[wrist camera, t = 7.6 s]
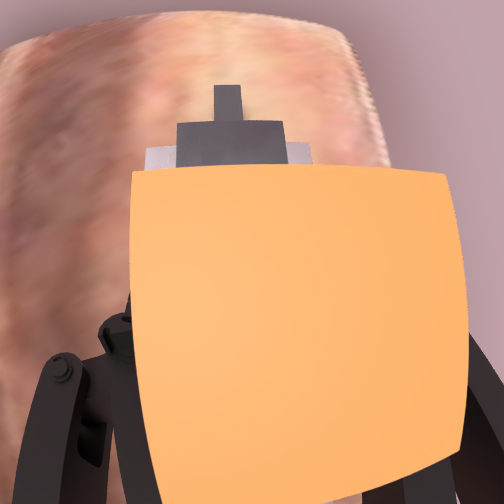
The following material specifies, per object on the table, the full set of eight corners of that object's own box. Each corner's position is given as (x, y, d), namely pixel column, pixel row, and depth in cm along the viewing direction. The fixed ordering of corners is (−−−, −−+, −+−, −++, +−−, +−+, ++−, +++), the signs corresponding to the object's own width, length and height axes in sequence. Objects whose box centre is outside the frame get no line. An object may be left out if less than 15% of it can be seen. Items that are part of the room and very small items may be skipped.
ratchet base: (150, 158, 20) (136, 123, 16) (303, 152, 21) (321, 119, 17) (185, 526, 15) (181, 561, 11) (326, 510, 17) (345, 541, 12)
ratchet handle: (191, 95, 19) (182, -93, 5) (261, 94, 20) (306, -87, 6) (202, 393, 16) (170, 603, 2) (288, 385, 17) (450, 538, 2)
